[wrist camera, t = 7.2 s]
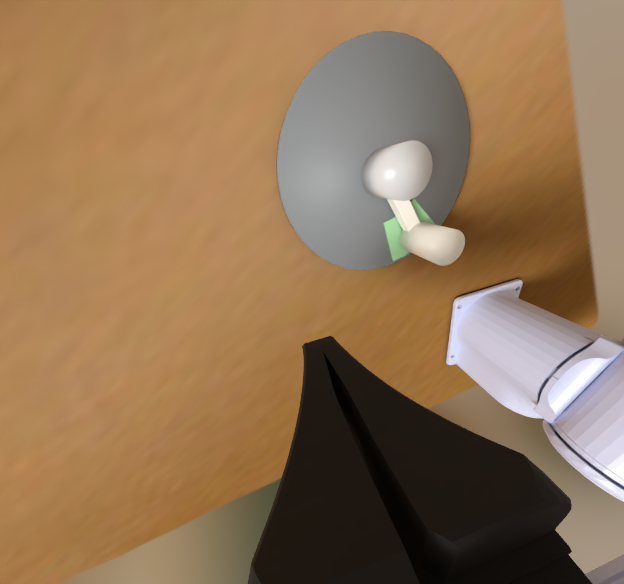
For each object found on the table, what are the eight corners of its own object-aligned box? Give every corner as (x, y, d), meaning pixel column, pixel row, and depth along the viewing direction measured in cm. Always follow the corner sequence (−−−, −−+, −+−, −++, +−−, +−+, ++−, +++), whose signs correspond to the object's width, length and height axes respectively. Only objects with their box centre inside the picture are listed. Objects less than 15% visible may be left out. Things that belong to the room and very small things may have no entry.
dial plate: (449, 243, 21) (458, 246, 20) (300, 284, 19) (303, 289, 18) (471, 26, 14) (487, 14, 13) (247, 59, 12) (246, 49, 11)
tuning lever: (353, 169, 15) (381, 165, 12) (390, 136, 14) (429, 123, 11) (404, 259, 19) (435, 275, 15) (434, 235, 18) (473, 246, 15)
